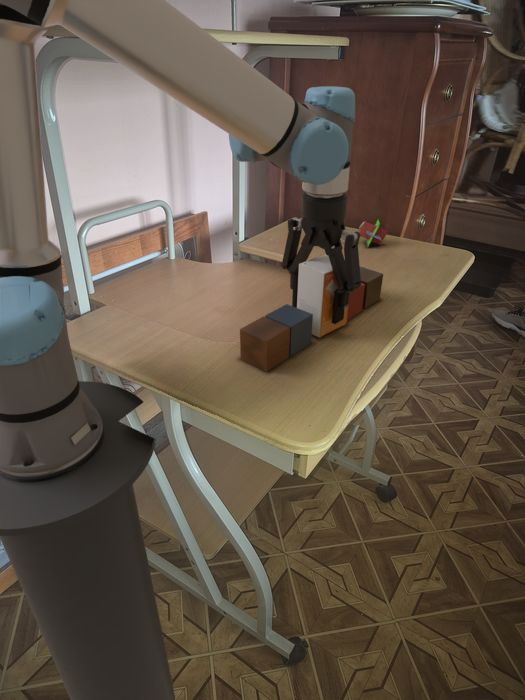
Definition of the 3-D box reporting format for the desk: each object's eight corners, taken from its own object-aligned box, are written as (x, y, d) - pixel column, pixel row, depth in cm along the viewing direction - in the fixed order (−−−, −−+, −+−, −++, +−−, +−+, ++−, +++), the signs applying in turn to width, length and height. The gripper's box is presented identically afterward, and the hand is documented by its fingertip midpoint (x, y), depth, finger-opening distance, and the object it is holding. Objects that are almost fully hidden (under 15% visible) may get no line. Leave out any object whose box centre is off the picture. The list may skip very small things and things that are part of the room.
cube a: (240, 359, 87) (239, 329, 83) (263, 345, 90) (263, 316, 87) (266, 372, 83) (266, 341, 80) (289, 357, 87) (290, 327, 84)
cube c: (320, 312, 101) (322, 285, 98) (337, 302, 105) (340, 275, 102) (345, 321, 98) (348, 294, 95) (362, 311, 102) (365, 284, 98)
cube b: (264, 344, 91) (264, 315, 87) (286, 332, 94) (286, 303, 91) (290, 356, 87) (291, 326, 84) (311, 343, 91) (312, 314, 88)
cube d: (340, 300, 106) (342, 274, 102) (356, 291, 109) (358, 266, 106) (364, 309, 102) (367, 282, 99) (379, 299, 106) (383, 273, 103)
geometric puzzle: (391, 233, 135) (375, 209, 132) (394, 241, 130) (378, 217, 127) (367, 247, 138) (352, 224, 135) (370, 256, 132) (354, 233, 129)
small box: (319, 338, 92) (324, 273, 85) (295, 326, 96) (297, 263, 89) (347, 324, 97) (354, 261, 90) (323, 313, 101) (327, 252, 94)
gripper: (394, 199, 79) (376, 324, 91) (289, 177, 91) (286, 290, 103) (368, 209, 74) (354, 340, 86) (261, 185, 86) (262, 302, 98)
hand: (317, 312), depth 95 cm, fingers open, 9 cm apart
